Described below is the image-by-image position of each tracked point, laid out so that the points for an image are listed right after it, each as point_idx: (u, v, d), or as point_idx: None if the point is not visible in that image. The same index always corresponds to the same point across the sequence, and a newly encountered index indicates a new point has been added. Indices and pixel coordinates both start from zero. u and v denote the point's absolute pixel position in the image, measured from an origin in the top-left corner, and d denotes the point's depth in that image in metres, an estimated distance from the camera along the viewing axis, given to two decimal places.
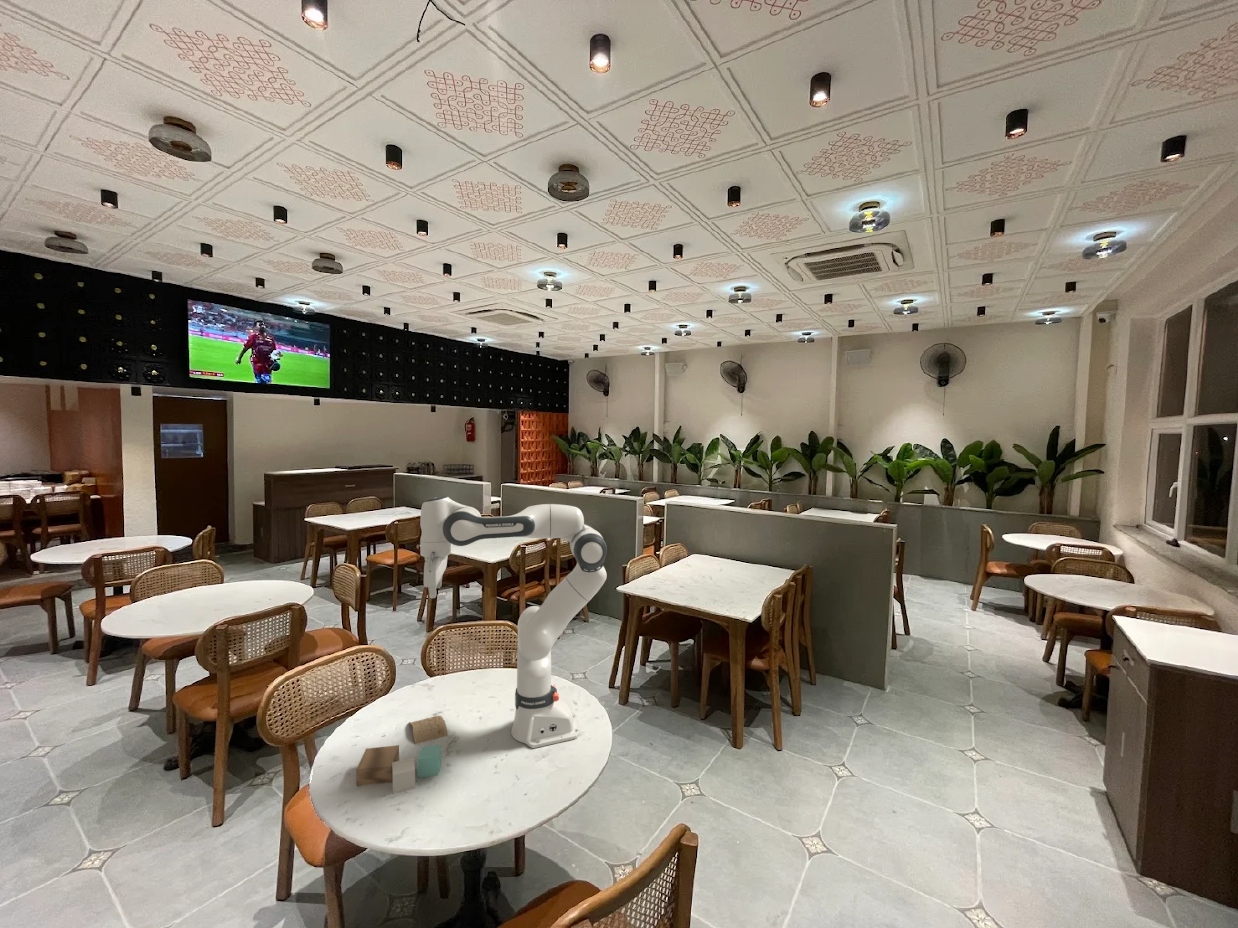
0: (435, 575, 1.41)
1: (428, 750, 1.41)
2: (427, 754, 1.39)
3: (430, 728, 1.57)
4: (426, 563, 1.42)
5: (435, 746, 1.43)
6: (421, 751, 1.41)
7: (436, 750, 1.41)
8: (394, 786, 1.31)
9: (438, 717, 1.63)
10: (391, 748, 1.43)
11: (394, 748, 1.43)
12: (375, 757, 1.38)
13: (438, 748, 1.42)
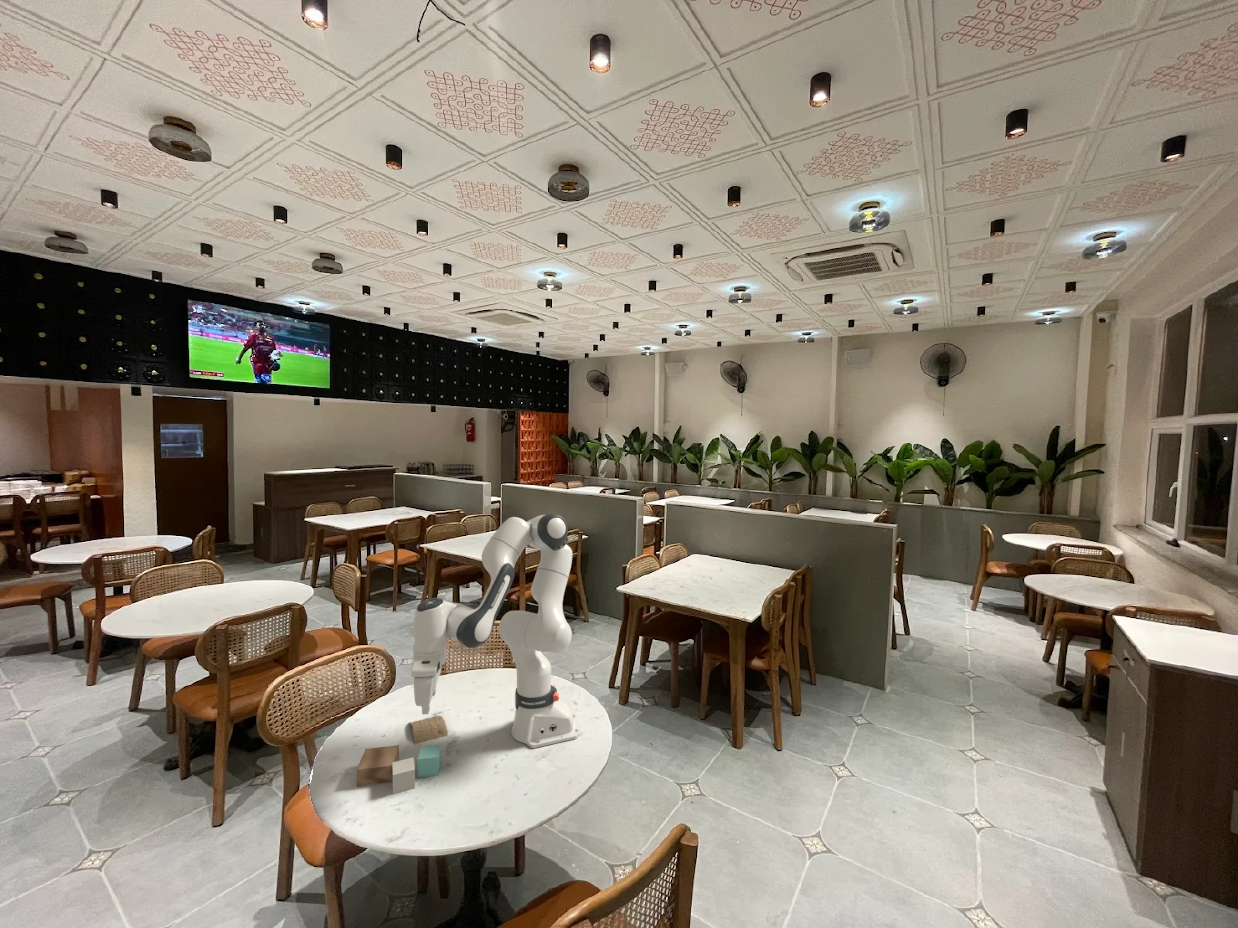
0: None
1: (428, 750, 1.41)
2: (427, 754, 1.39)
3: (430, 728, 1.57)
4: None
5: (435, 746, 1.43)
6: (421, 751, 1.41)
7: (436, 750, 1.41)
8: (394, 786, 1.31)
9: (438, 717, 1.63)
10: (391, 748, 1.43)
11: (394, 748, 1.43)
12: (375, 757, 1.38)
13: (438, 748, 1.42)
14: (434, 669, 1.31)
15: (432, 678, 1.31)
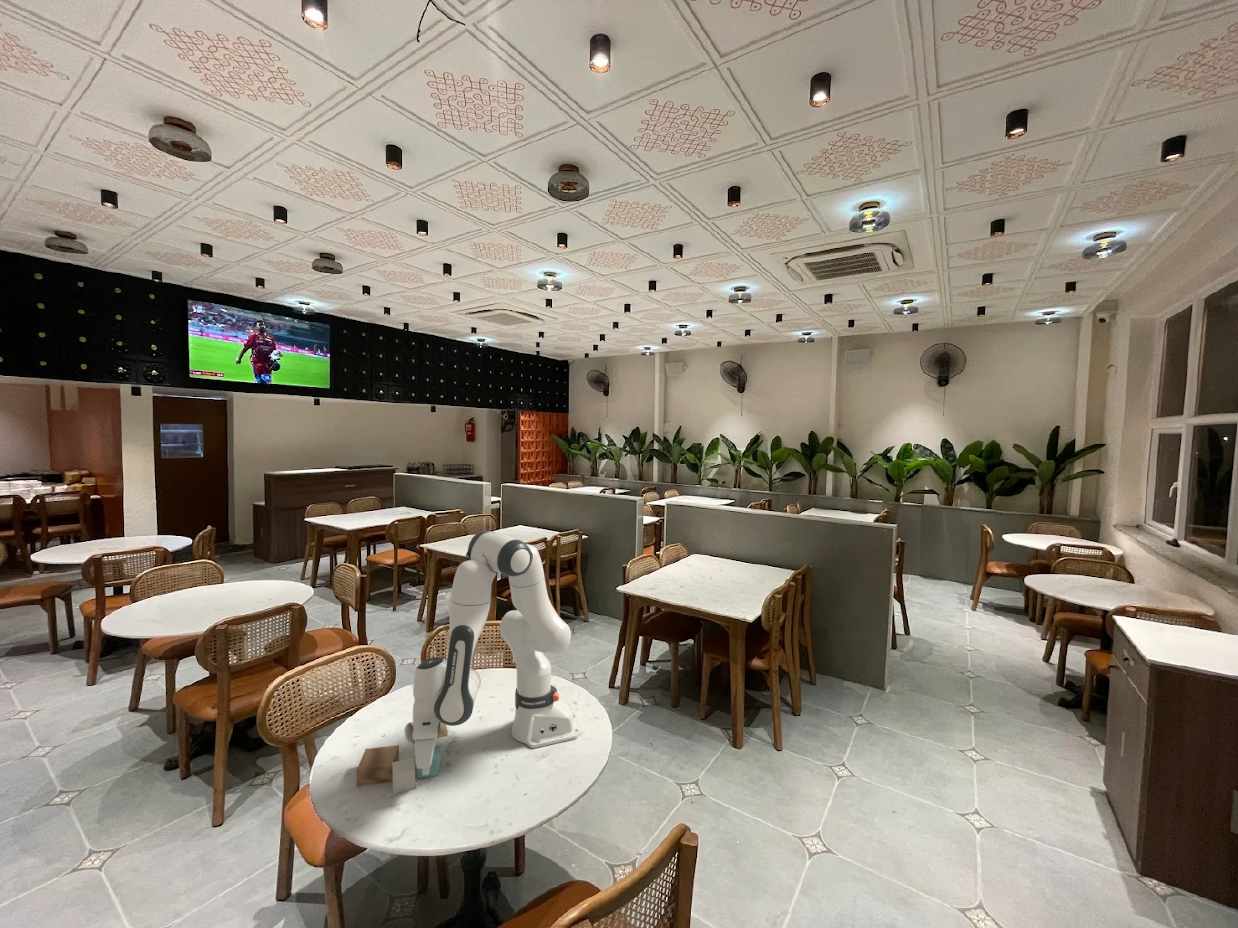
0: None
1: None
2: None
3: None
4: None
5: None
6: None
7: (436, 751, 1.41)
8: (394, 786, 1.31)
9: None
10: (391, 748, 1.43)
11: (394, 748, 1.43)
12: (375, 757, 1.38)
13: (438, 748, 1.42)
14: (435, 731, 1.31)
15: (433, 740, 1.31)
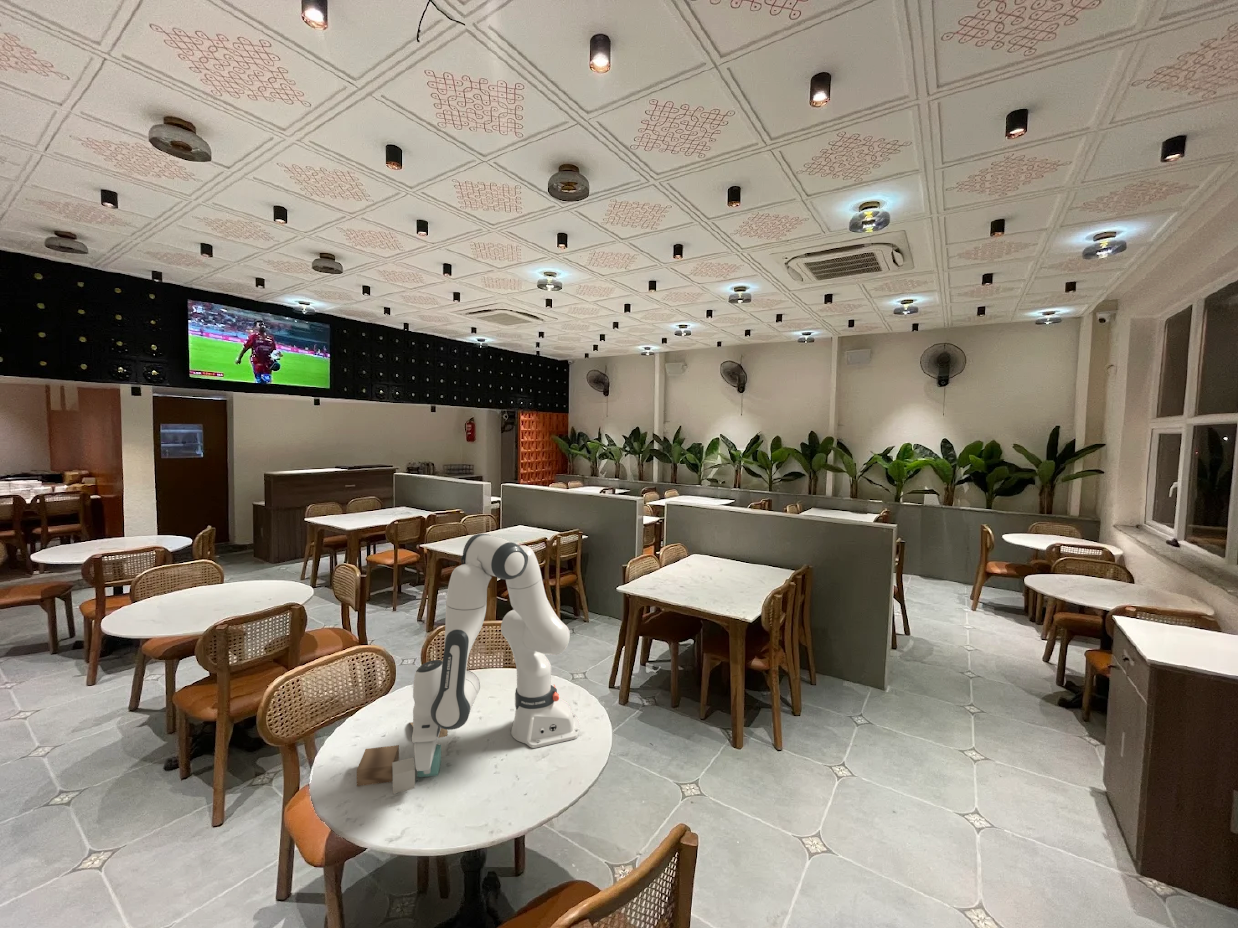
0: None
1: None
2: None
3: None
4: None
5: None
6: None
7: (436, 750, 1.41)
8: (394, 786, 1.31)
9: None
10: (391, 748, 1.43)
11: (394, 748, 1.43)
12: (375, 757, 1.38)
13: (438, 748, 1.42)
14: (434, 734, 1.32)
15: (432, 743, 1.32)
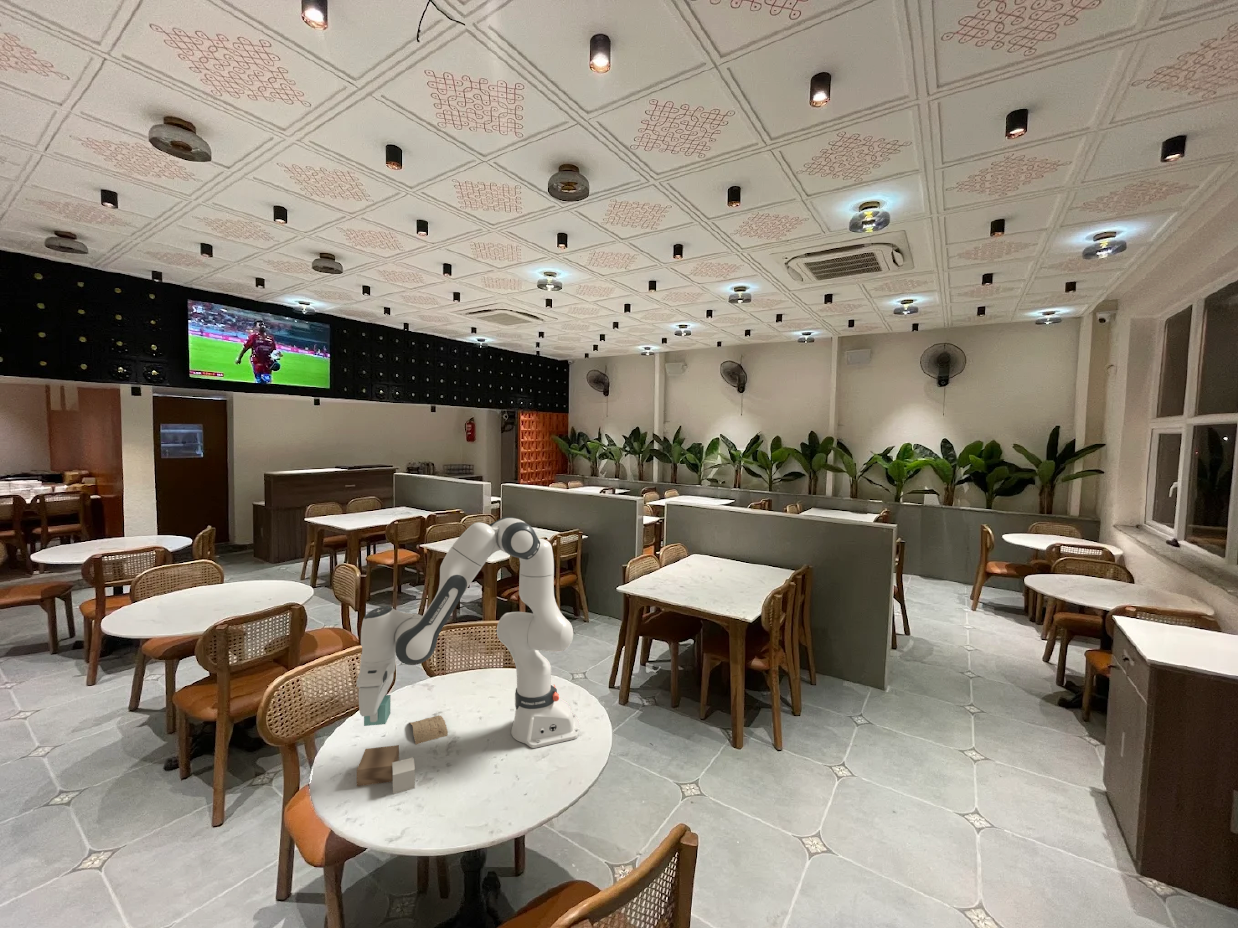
0: None
1: None
2: None
3: (430, 728, 1.57)
4: None
5: None
6: None
7: (384, 699, 1.38)
8: (394, 786, 1.31)
9: (438, 717, 1.63)
10: (391, 748, 1.43)
11: (394, 748, 1.43)
12: (375, 757, 1.38)
13: (387, 697, 1.39)
14: (380, 679, 1.29)
15: (378, 688, 1.29)
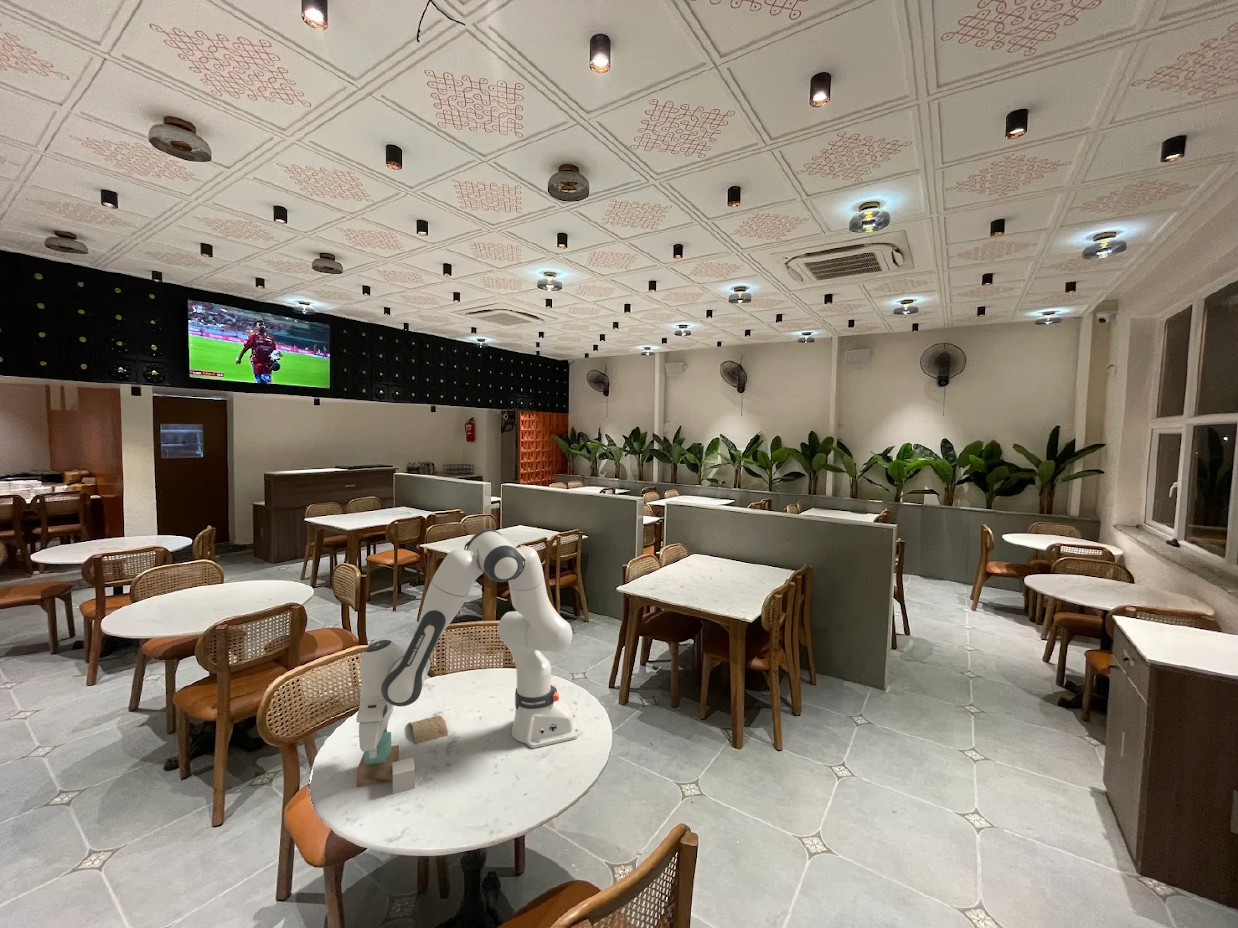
0: None
1: None
2: None
3: (430, 728, 1.57)
4: None
5: (384, 733, 1.40)
6: None
7: (385, 737, 1.39)
8: (394, 786, 1.31)
9: (438, 717, 1.63)
10: (391, 748, 1.42)
11: (394, 748, 1.43)
12: None
13: (387, 735, 1.40)
14: (380, 714, 1.30)
15: (378, 723, 1.30)
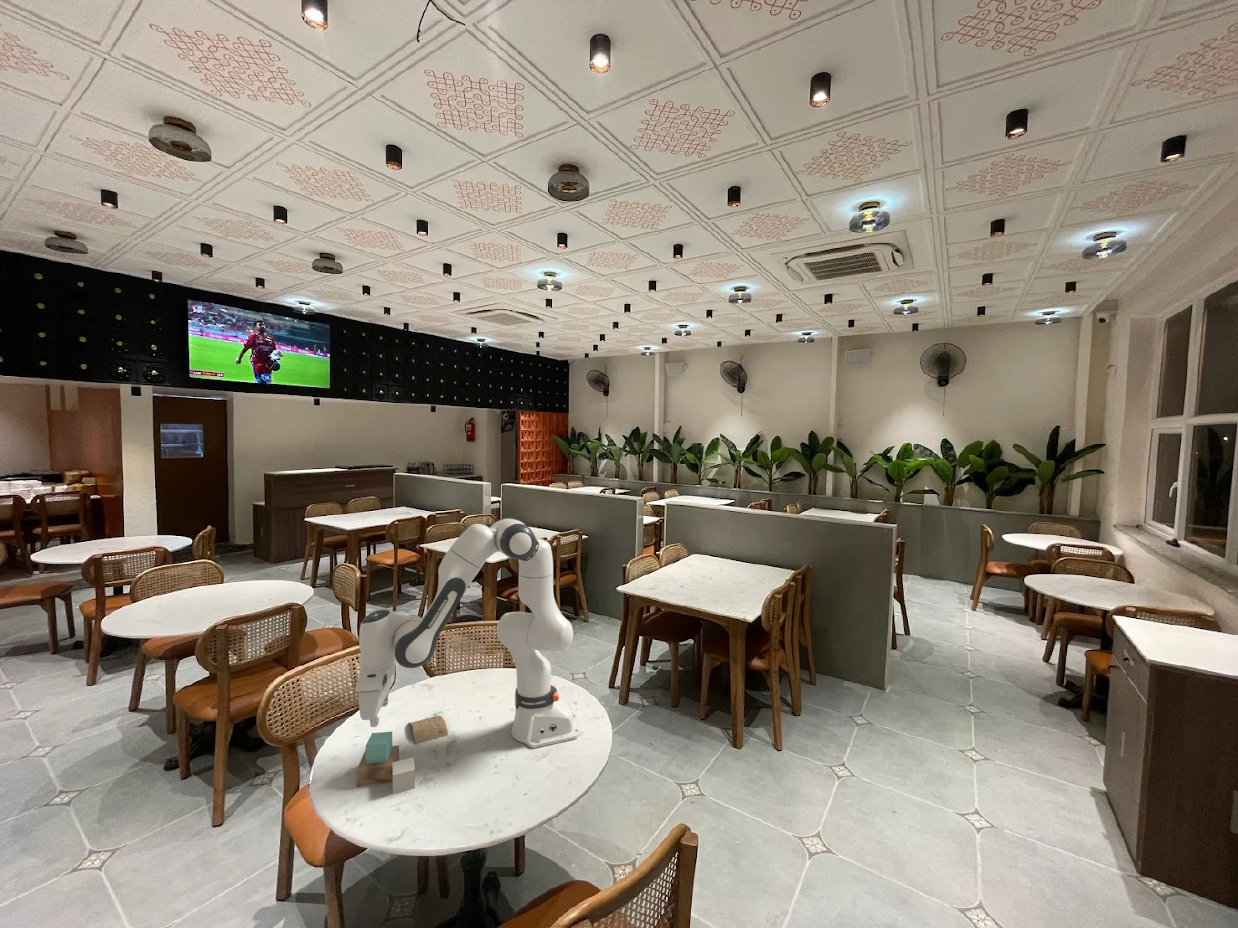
0: None
1: (378, 736, 1.39)
2: (376, 740, 1.37)
3: (430, 728, 1.57)
4: None
5: (385, 733, 1.41)
6: (371, 737, 1.39)
7: (386, 737, 1.39)
8: (394, 786, 1.31)
9: (438, 717, 1.63)
10: None
11: (394, 748, 1.43)
12: None
13: (388, 735, 1.40)
14: (379, 683, 1.29)
15: (377, 692, 1.29)
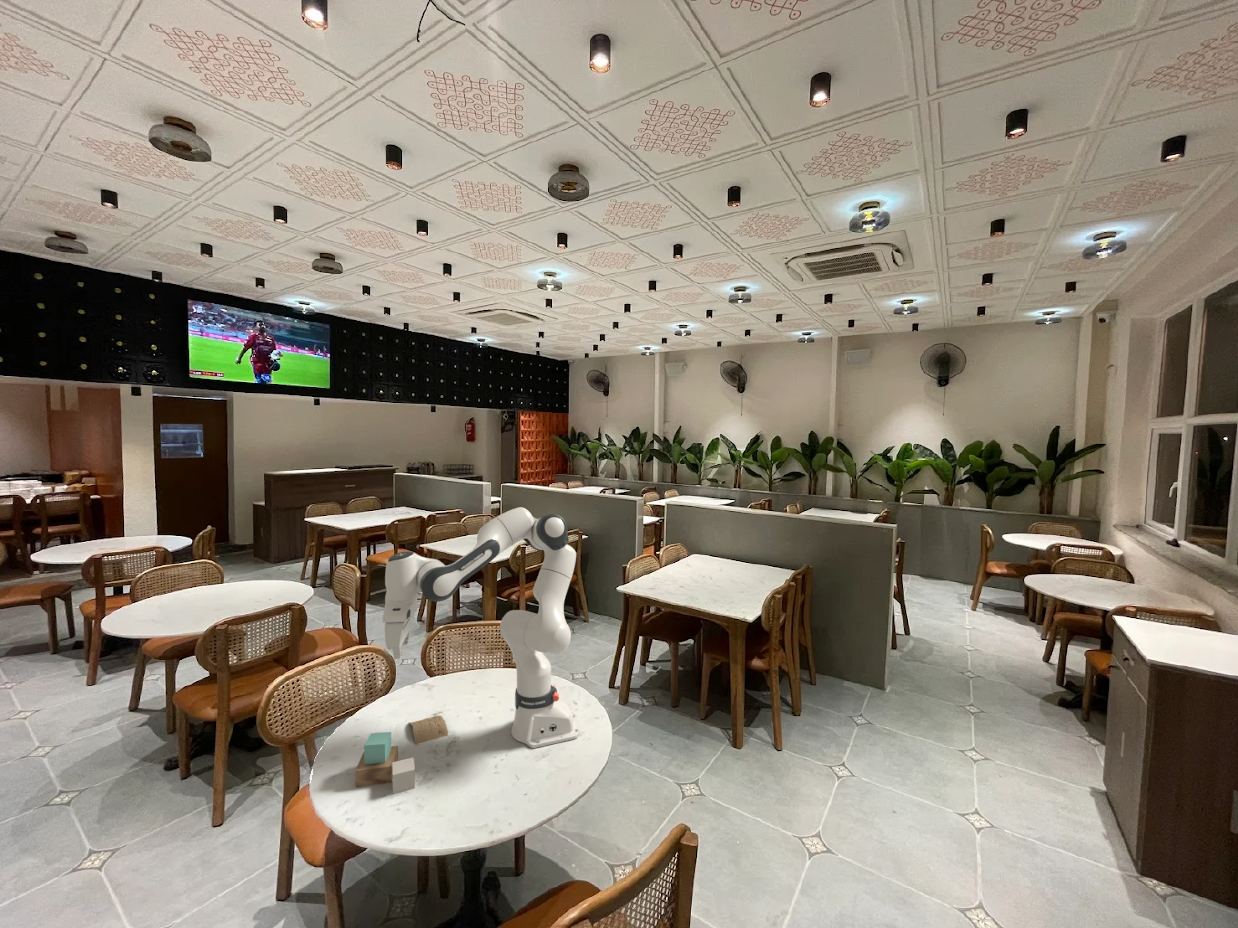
0: None
1: (377, 737, 1.39)
2: (375, 741, 1.37)
3: (430, 728, 1.57)
4: None
5: (384, 733, 1.41)
6: (369, 737, 1.39)
7: (384, 737, 1.39)
8: (394, 786, 1.31)
9: (438, 717, 1.63)
10: None
11: (393, 749, 1.42)
12: None
13: (387, 735, 1.40)
14: (404, 615, 1.39)
15: (402, 624, 1.39)
